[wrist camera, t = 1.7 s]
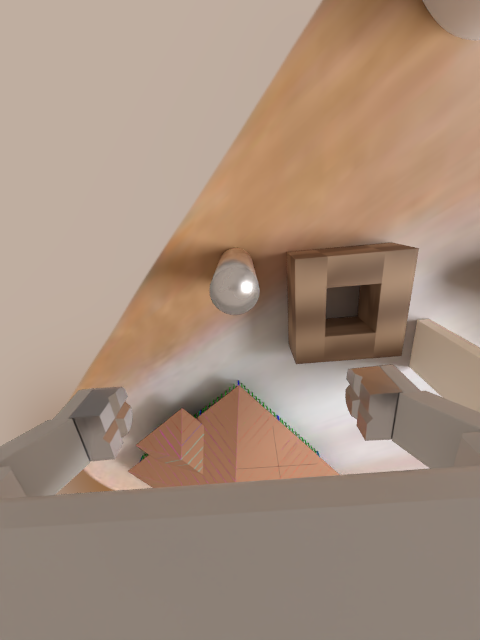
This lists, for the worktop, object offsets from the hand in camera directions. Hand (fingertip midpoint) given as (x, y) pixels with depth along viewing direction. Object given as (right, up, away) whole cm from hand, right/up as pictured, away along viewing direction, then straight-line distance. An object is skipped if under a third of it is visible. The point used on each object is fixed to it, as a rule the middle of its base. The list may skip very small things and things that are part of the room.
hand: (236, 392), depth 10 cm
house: (+1, -21, +35) cm, 41 cm away
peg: (0, +9, +22) cm, 24 cm away
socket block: (+12, +5, +23) cm, 27 cm away
